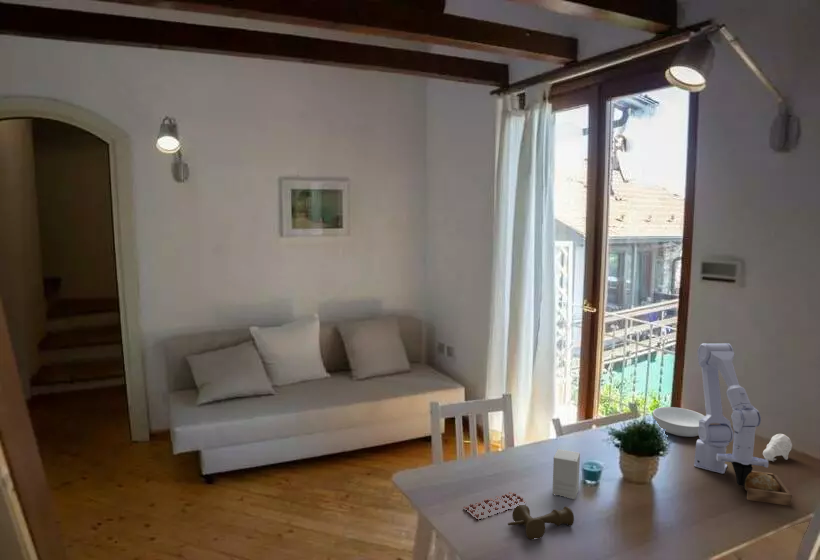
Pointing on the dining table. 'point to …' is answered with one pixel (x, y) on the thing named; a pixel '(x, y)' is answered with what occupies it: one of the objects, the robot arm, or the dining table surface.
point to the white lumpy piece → (778, 447)
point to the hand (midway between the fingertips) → (739, 484)
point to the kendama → (540, 520)
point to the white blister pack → (495, 502)
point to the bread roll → (761, 482)
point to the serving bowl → (678, 420)
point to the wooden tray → (770, 493)
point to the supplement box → (566, 473)
